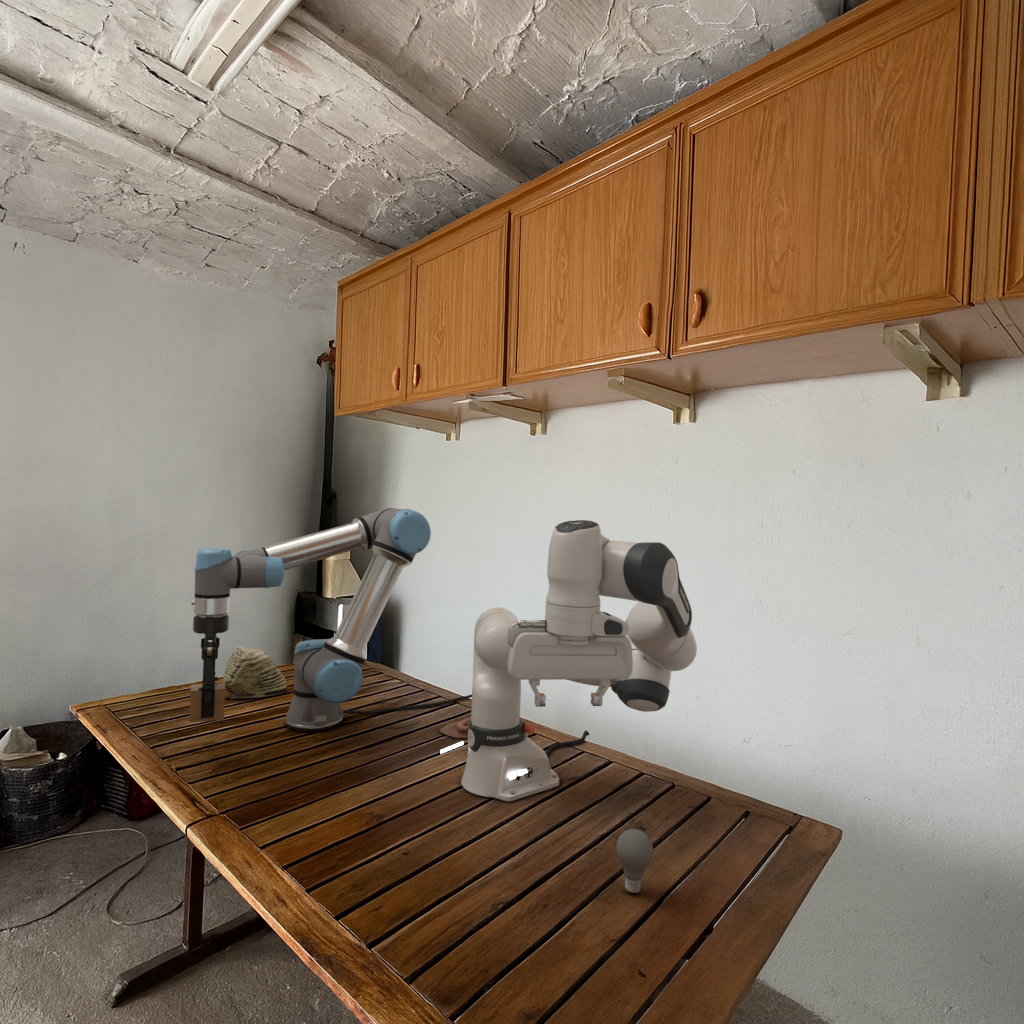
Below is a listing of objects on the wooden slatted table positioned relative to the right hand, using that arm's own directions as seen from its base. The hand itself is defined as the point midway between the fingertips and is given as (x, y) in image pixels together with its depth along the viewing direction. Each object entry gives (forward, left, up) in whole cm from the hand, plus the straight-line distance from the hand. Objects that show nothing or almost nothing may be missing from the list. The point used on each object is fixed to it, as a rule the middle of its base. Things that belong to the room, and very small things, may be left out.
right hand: (568, 705), depth 103 cm
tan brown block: (+51, -76, -21) cm, 94 cm away
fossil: (+37, -124, -32) cm, 133 cm away
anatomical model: (-13, -73, -32) cm, 81 cm away
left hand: (+51, -76, -20) cm, 94 cm away
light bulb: (-12, +4, -32) cm, 34 cm away
